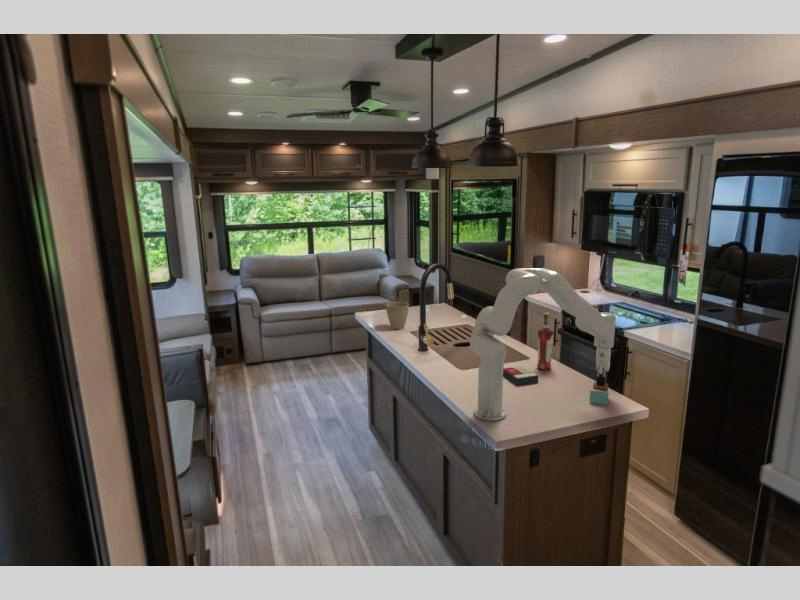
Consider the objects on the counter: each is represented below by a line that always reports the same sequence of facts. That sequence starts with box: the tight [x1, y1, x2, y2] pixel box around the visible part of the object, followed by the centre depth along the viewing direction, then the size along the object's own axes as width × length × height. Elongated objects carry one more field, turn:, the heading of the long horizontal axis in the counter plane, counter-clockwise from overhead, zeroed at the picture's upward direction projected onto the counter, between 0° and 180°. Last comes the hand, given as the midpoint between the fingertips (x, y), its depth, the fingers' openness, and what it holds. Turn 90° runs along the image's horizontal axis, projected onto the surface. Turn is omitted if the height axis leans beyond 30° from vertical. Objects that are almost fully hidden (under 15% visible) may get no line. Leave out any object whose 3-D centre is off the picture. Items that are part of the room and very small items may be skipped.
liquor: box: [536, 312, 554, 371], centre depth 245 cm, size 7×7×28 cm
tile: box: [588, 388, 610, 406], centre depth 207 cm, size 2×7×6 cm, turn 64°
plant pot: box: [385, 301, 410, 330], centre depth 322 cm, size 15×15×16 cm
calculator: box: [503, 365, 539, 387], centre depth 236 cm, size 11×4×15 cm
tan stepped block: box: [592, 362, 609, 391], centre depth 212 cm, size 3×6×12 cm, turn 64°
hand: (600, 383), depth 212 cm, fingers closed on tan stepped block, 3 cm apart
